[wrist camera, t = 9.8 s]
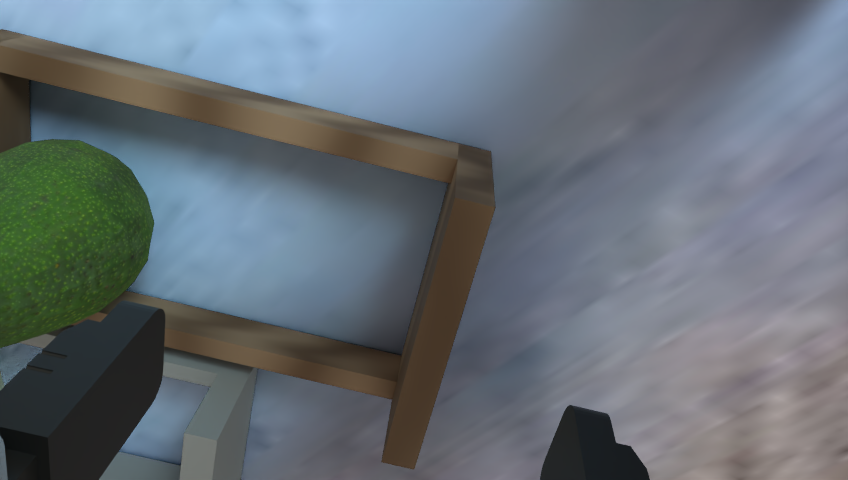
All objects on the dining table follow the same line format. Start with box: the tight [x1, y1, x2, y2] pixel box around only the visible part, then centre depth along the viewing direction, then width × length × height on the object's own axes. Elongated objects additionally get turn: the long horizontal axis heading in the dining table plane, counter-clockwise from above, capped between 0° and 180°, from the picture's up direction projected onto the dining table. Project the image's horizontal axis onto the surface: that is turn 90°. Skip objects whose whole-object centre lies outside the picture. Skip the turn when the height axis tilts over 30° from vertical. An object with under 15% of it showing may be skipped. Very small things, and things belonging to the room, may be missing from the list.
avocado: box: [0, 139, 154, 348], centre depth 29 cm, size 8×8×12 cm
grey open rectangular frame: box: [19, 325, 258, 480], centre depth 36 cm, size 24×11×7 cm, turn 77°
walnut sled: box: [0, 29, 495, 469], centre depth 31 cm, size 24×14×7 cm, turn 77°
